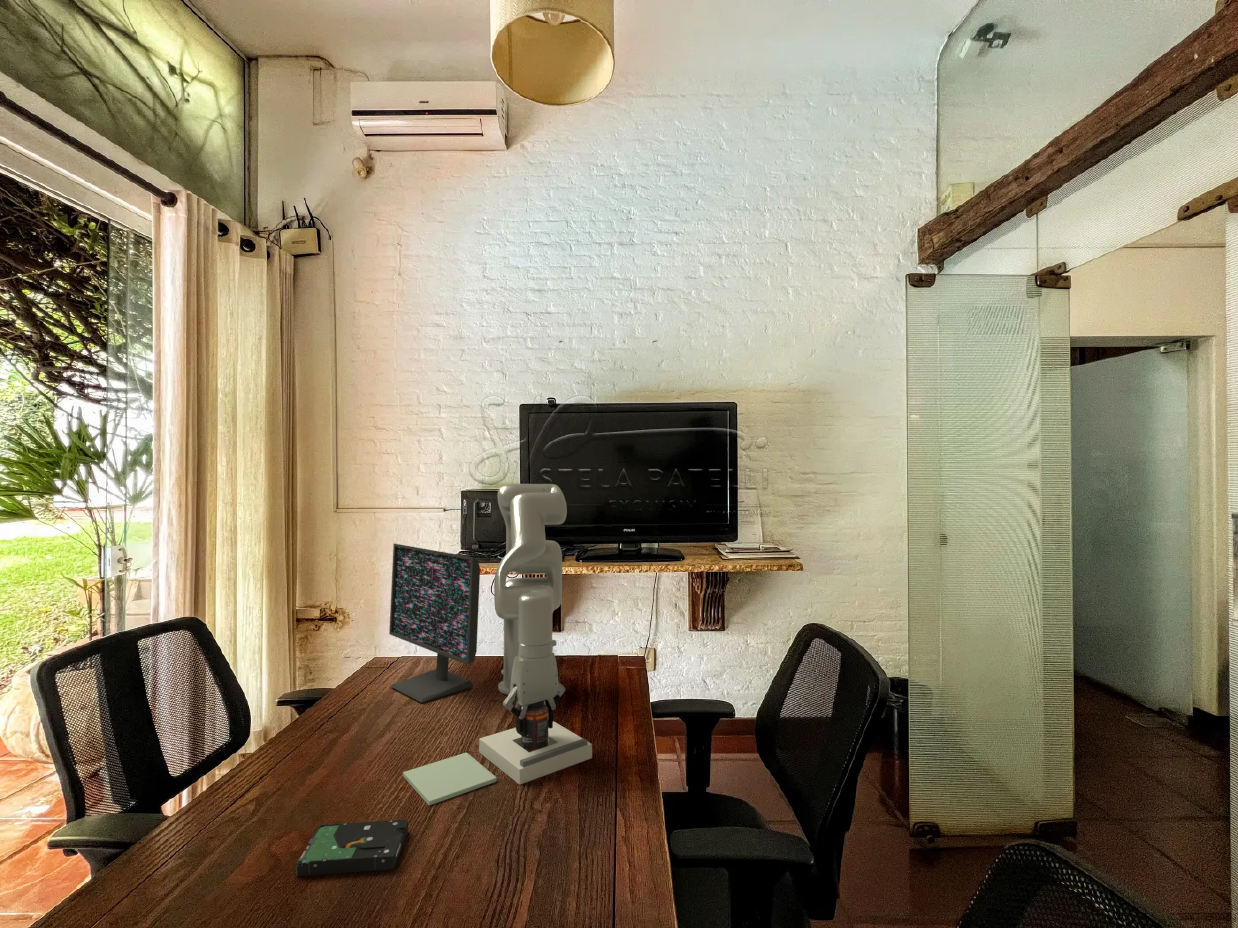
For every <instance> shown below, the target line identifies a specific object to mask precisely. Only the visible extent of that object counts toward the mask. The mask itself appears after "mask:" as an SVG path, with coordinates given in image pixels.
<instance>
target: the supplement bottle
mask: <svg viewBox="0 0 1238 928" xmlns="http://www.w3.org/2000/svg"><path fill="white" fill-rule="evenodd" d="M525 718H526V719H527V736H526V737H523V736H522V748H523V749H525V750H526V751H528V752H532V751H535V750H538V749H541V748H544V747H547V746H548V707H547V706H546V705H545V703H544V701H539V702H536V703H533V704H530V705H528V707H527V710H526V713H525Z"/></svg>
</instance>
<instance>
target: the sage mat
mask: <svg viewBox="0 0 1238 928" xmlns="http://www.w3.org/2000/svg"><path fill="white" fill-rule="evenodd" d="M402 777H403V778H404V779H405V780H406V781H407V783H409V785H410V786H411V787H412V788H413V789H414V790H415V792H416V793H417V794H418V795H419V796H420V797H421V798H422V800H423V801H424V802H425V803H426V804H427V805H428V806H432V805H435V804H438V803H441V802H443V801H446V800H448V799H452V798H455V797H457V796H460V795H463V794H466V793H468V792H472V791H474V790H476V789H479V788H482V787H485V786H488V785H490V784H494V783H496V782H498V781H497V780H498V779H497V776H496V775H494V774H493V773H492V772H491V771H489V769H487V768H486V767H485V766H484V765H482V764H481V763H480V762H479V761H478V760H476V759H475V758H474V757H473V756H471V754H470V753H468V752H463V753H461V754H457V755H454V756H450V757H447V758H444V759H441V760H438V761H434V762H431V763H429V764H425V765H422V766H419V767H415V768H413V769H410V770H406V771H403V772H402Z"/></svg>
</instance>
